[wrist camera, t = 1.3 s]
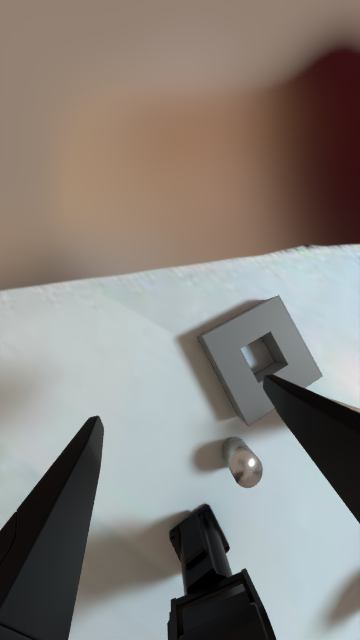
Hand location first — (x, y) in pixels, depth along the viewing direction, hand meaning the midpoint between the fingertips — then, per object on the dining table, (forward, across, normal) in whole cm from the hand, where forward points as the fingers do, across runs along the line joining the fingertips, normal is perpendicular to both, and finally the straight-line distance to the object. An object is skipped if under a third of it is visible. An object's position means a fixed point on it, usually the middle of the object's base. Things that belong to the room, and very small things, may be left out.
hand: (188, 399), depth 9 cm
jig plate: (+14, -14, +10) cm, 22 cm away
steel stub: (+8, -8, +22) cm, 24 cm away
